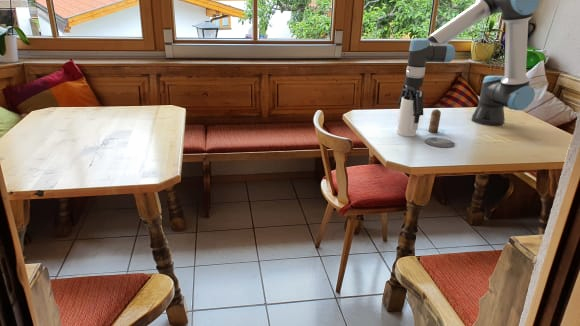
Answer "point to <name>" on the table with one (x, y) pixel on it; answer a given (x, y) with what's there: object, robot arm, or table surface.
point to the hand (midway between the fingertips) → (407, 125)
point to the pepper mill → (434, 121)
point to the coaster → (439, 142)
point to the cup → (406, 118)
